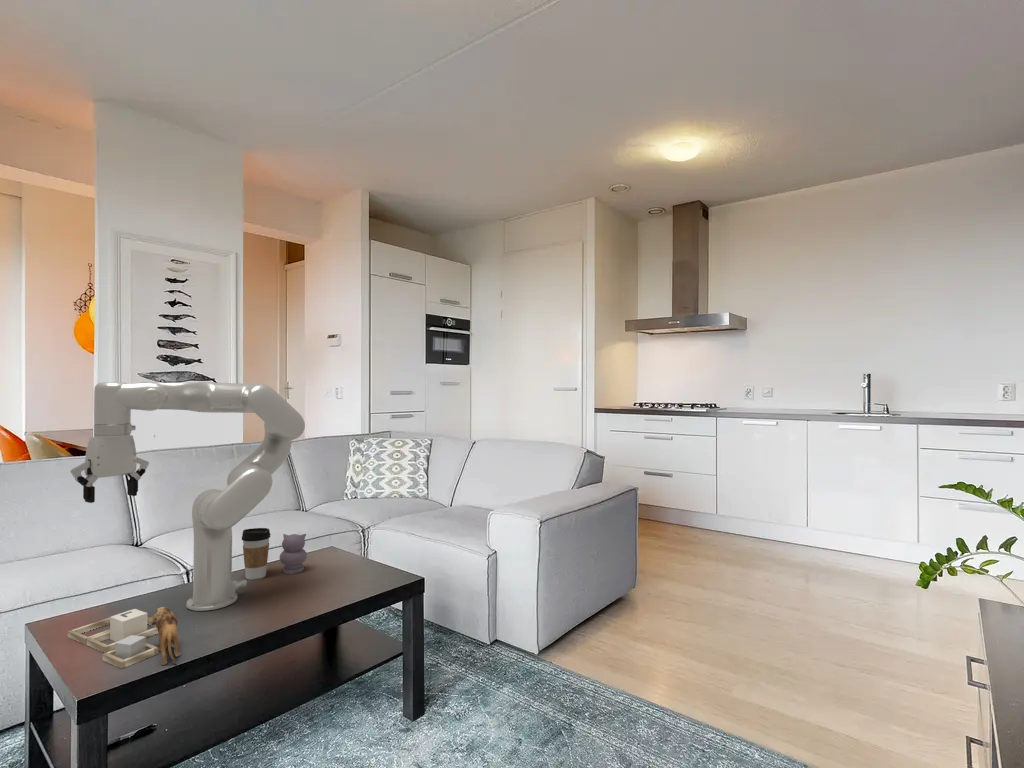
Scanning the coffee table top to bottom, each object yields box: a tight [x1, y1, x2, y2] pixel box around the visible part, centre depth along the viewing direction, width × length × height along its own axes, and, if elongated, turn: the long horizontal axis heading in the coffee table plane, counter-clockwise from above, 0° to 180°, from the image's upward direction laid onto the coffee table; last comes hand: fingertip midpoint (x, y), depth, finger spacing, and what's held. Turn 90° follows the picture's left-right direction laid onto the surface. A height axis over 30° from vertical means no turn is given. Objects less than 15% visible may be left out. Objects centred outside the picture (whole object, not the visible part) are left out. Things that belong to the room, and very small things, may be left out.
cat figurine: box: [279, 533, 308, 575], centre depth 182 cm, size 8×8×12 cm
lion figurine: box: [148, 606, 182, 666], centre depth 125 cm, size 15×5×9 cm, turn 46°
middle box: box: [85, 616, 159, 654], centre depth 133 cm, size 14×8×1 cm, turn 152°
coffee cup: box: [241, 527, 272, 580], centre depth 176 cm, size 8×8×15 cm
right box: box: [67, 616, 150, 646], centre depth 137 cm, size 14×8×1 cm, turn 152°
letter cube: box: [109, 608, 148, 643], centre depth 133 cm, size 6×6×6 cm
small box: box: [102, 642, 159, 670], centre depth 123 cm, size 8×8×1 cm
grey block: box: [114, 635, 147, 660], centre depth 123 cm, size 4×4×4 cm
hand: (111, 498), depth 139 cm, fingers open, 9 cm apart
